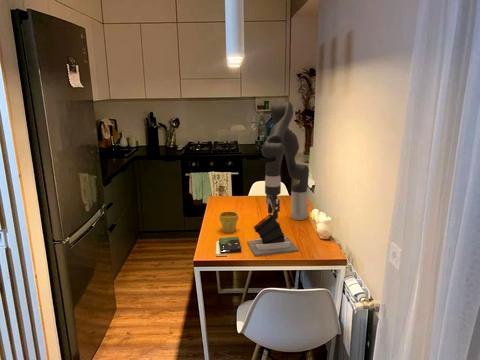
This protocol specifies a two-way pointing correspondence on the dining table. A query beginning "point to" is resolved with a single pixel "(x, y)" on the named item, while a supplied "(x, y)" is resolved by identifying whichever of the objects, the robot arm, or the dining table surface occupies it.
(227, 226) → the plant pot
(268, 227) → the magazine
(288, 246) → the rail board
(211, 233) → the dining table surface
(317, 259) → the dining table surface
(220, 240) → the disk drive
